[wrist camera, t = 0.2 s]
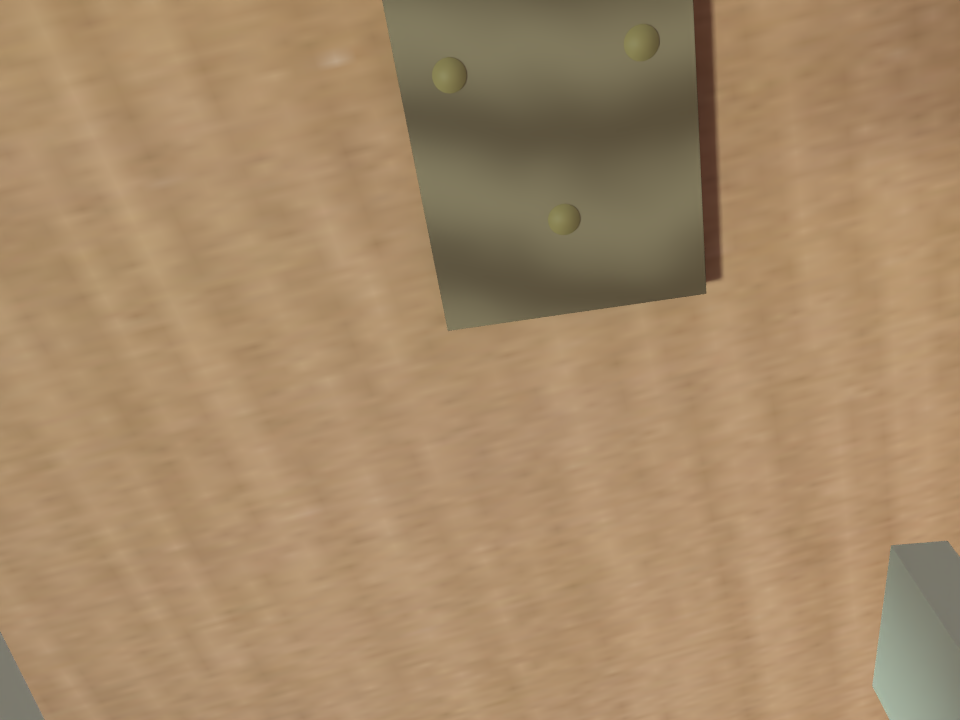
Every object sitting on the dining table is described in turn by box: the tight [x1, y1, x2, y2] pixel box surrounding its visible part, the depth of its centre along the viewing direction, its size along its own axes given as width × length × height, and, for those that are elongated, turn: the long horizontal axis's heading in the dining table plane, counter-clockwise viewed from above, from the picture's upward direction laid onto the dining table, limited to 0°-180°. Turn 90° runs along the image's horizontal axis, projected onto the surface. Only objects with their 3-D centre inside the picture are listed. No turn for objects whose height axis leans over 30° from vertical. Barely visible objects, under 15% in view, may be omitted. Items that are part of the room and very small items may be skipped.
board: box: [382, 0, 706, 331], centre depth 35 cm, size 18×12×1 cm, turn 9°
